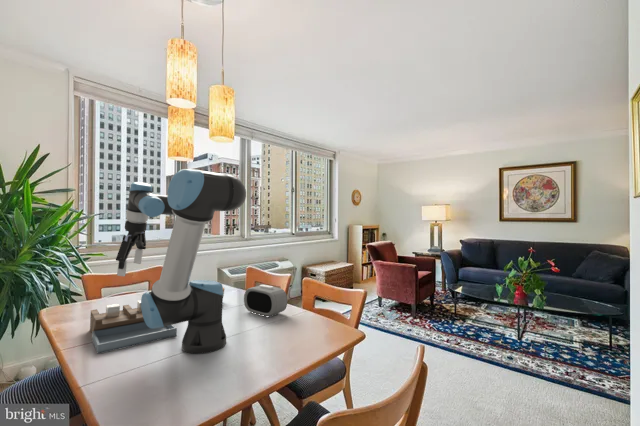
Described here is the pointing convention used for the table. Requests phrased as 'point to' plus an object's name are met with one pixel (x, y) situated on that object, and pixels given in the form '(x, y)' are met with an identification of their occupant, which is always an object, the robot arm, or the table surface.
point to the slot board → (115, 319)
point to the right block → (139, 306)
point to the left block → (112, 310)
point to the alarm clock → (265, 300)
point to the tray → (129, 336)
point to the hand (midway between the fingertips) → (129, 269)
